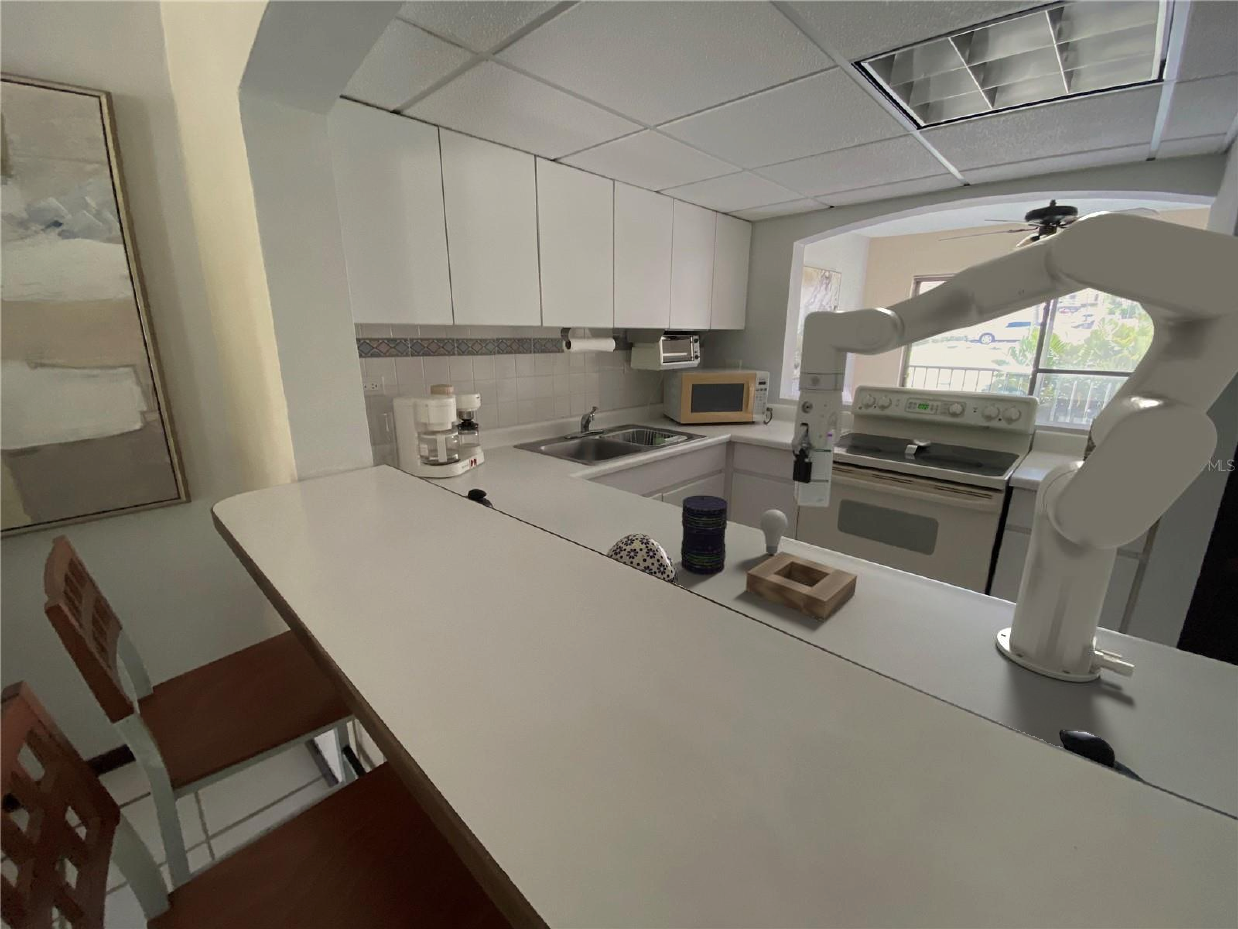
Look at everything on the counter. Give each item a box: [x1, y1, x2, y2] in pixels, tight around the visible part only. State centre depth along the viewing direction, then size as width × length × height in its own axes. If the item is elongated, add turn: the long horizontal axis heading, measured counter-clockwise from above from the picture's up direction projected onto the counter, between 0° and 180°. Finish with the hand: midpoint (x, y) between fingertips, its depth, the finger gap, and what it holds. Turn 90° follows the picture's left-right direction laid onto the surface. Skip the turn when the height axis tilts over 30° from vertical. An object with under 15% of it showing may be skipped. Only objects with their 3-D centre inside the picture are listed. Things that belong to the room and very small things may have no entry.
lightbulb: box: [759, 509, 789, 556], centre depth 114 cm, size 6×6×11 cm
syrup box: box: [793, 429, 835, 508], centre depth 92 cm, size 6×6×14 cm
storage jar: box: [680, 495, 729, 576], centre depth 109 cm, size 10×10×15 cm
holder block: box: [745, 551, 858, 621], centre depth 98 cm, size 16×14×4 cm
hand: (812, 476), depth 92 cm, fingers closed on syrup box, 7 cm apart
